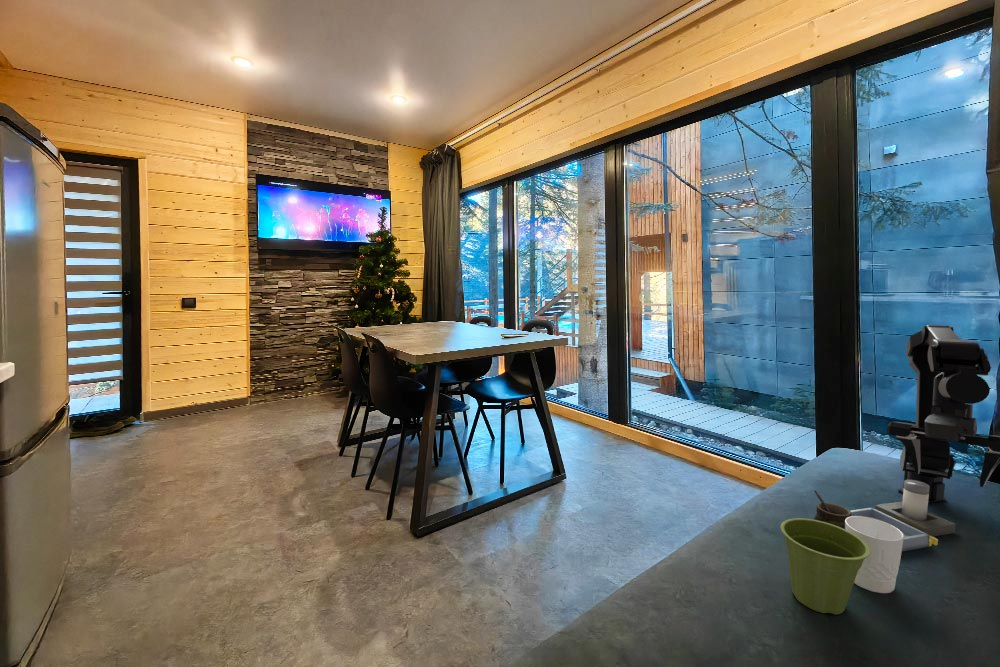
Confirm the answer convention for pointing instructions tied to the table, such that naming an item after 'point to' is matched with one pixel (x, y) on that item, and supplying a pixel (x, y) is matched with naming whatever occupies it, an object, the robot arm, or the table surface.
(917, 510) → the cylinder
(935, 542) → the puller tool
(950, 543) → the table surface
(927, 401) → the robot arm
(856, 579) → the white cup
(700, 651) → the table surface
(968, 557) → the table surface
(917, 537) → the tray
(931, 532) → the frame
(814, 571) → the plant pot
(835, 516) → the mate gourd
